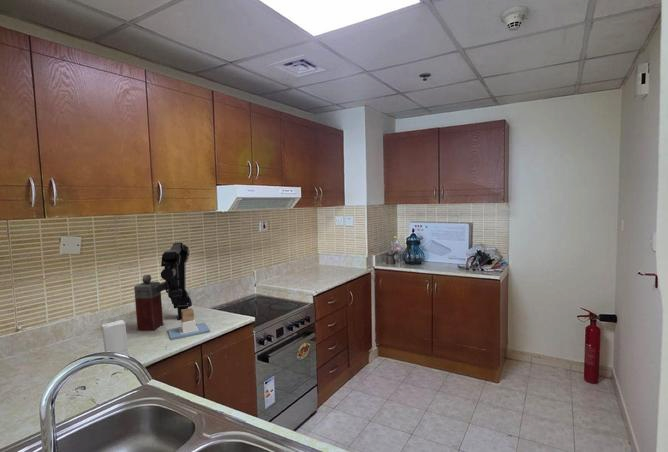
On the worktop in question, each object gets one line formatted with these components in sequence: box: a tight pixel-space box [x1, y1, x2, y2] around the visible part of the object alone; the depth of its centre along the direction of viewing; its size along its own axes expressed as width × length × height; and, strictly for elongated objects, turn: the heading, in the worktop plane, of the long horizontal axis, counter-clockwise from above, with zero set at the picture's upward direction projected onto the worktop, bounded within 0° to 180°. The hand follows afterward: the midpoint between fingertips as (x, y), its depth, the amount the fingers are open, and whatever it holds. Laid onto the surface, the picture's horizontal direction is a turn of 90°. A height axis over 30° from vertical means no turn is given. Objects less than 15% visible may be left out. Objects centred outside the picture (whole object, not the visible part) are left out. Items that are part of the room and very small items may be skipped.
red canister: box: [133, 274, 164, 332], centre depth 192 cm, size 9×11×28 cm
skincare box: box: [101, 319, 129, 356], centre depth 157 cm, size 8×6×15 cm
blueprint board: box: [167, 322, 211, 341], centre depth 185 cm, size 14×18×1 cm
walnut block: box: [181, 307, 195, 322], centre depth 185 cm, size 5×5×5 cm
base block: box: [180, 318, 197, 333], centre depth 185 cm, size 6×6×5 cm
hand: (174, 306), depth 189 cm, fingers open, 9 cm apart
